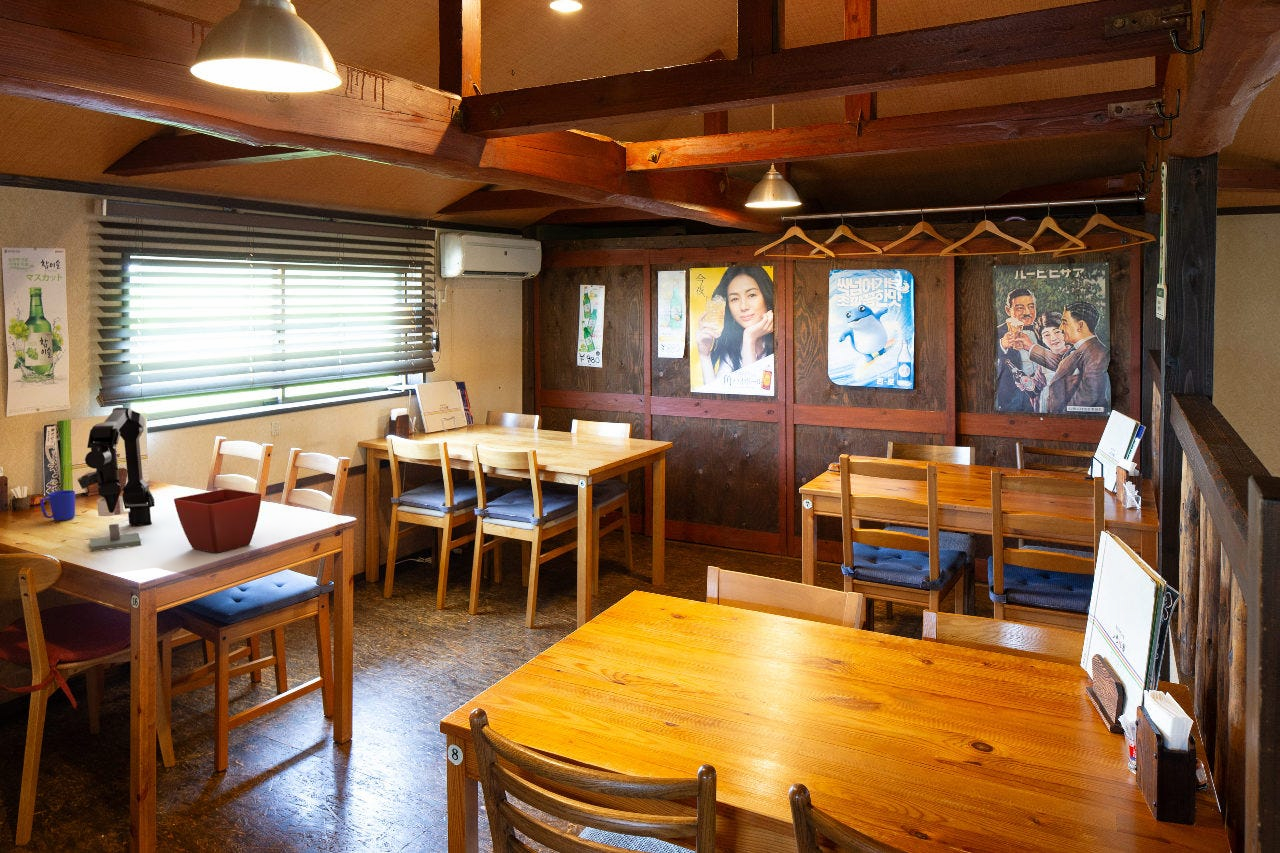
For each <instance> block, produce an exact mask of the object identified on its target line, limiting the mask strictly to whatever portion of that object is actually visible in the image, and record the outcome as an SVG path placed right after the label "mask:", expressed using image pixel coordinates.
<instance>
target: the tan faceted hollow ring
mask: <svg viewBox="0 0 1280 853" xmlns="http://www.w3.org/2000/svg"><path fill="white" fill-rule="evenodd" d="M96 504H97V506H96V507H97V515H98V516H99V517H113V516H118V515H122V514H124V509H125V508H124V503H123V498H122V496H119V498H118V501H117V504H116V506H115V509H114V512H113V513H109V510H108V507H107V503H106V500H105V498H104V497H100V498H98V499H96Z"/></svg>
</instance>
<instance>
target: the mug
mask: <svg viewBox="0 0 1280 853" xmlns="http://www.w3.org/2000/svg"><path fill="white" fill-rule="evenodd" d="M46 500H47V501H48V500H49V505H50V510H51V514H52V515H50V516H48V514H47V511H46V509H45V504H44V503H45V501H46ZM39 503H40V504H39V505H40V508H41V512H42V515H43V517H44V518H46V519H52V518H53V520H54V521H57V520H63V521H68V519H69V520H72V519H74V518H75V517H76V491H75V490H71V489H70V490H69V489H68V490H57V491H52V492H49V493H48V497H44V498H43V497H42V498H40V499H39Z"/></svg>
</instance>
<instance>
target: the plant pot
mask: <svg viewBox="0 0 1280 853" xmlns="http://www.w3.org/2000/svg"><path fill="white" fill-rule="evenodd" d="M173 502H174V507H175V509H176V512H177V517H178V518H179V522H180V525H181V527H182V530H183V532H184V535H185V537H186V539H187V541H188V543H189V545H190V546H191V548H192V549H194V550H199V551H203V552H208V553H212V554H217V553H218V554H219V553H222V552H226V551H230V550H234V549H239V548H242V546H243V547H247V546H249V545H250V544H251V542H252V539H253V536H254V533H255V530H256V526H257V523H258V519H259V514H260V509H261V502H262V493H257V492H252V491H245V490H238V489H237V490H236V489H230V488H225V489H219V490H218V489H217V490H211V491H207V492H202V493H197V494H192V495H186V496H180V497H175V498H173ZM246 545H247V546H246Z"/></svg>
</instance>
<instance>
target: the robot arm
mask: <svg viewBox="0 0 1280 853" xmlns="http://www.w3.org/2000/svg"><path fill="white" fill-rule="evenodd" d="M111 411H112V412H111V413H110V415H108V417H107V418H106V419H105V421H103V422H99V423H96V424H95V425H93V426H92V428H91V429H90V430H89V435H88V441H87V445H86V448H87V449H90V451H89V452H87V453H86V454H85V457H84V461H85V464H86V465H87V466H88V467H89V468H91V469H94V470H95V469H96V471H93V472H90V473H86V474H85V475H81V477H78V478H77V482H78V484H79V486H80V487H81V489H82V490H83V489H87V488H89V487H90V486H92V485H93V486H94V485H95V484H97V488H98V489H97V490H98V495H99V496H101V498H105V500H106V503H107V507H108V510H109V513H113V512H114V509H115V506H116V504H117V501H118V498H119V497H120V495H121V493H122V496H121V497H122V498H123V508H124V509H125V510H127V509H129V511H127V515H128V516H127V517H128V524H129V525H130V527H137V526H146V525H152V524H153V522H152V518H151V517H152V516H151V508H153V507H155V504H156V503H155V498H154V496H153V494H152V492H151V490H150V487H149V484H148V483H147V482H146V481H145V479H144V477H143V467H142V456H141V446H140V445H141V444H140V438H141V436H142V434H143V433H144V427H145V418H144V416H143V415H142V414H141V413H140V412H137V411H135V410H132V408H131V407H127V406H126V407H125V406H123V407H114V408H113V409H112V410H111ZM120 438H122V440H123V442H124V443H123V444H124V451H125V464H126V465H125V466H126V474H127V482H126V484H125V485H124V486H123V488H121V484H120V477H119V466H118V457H117V456H118V455H117V445H118V444H119V440H120ZM122 491H123V492H122Z"/></svg>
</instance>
